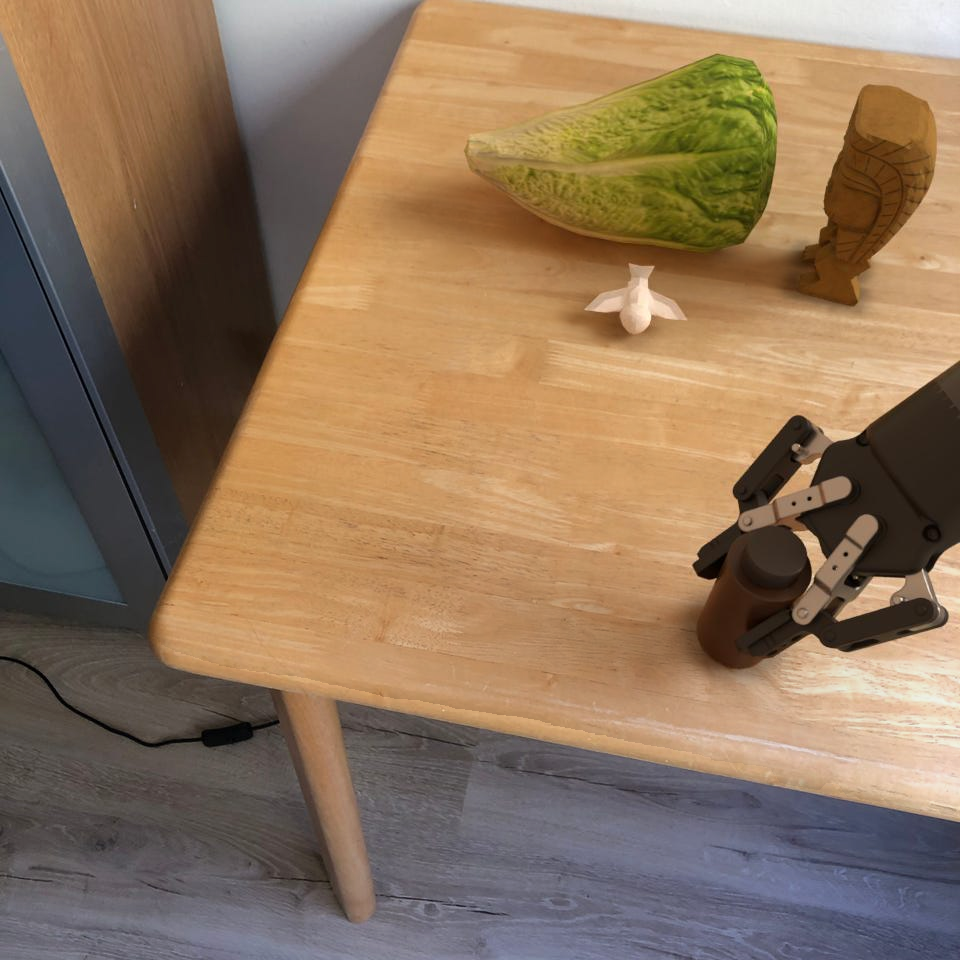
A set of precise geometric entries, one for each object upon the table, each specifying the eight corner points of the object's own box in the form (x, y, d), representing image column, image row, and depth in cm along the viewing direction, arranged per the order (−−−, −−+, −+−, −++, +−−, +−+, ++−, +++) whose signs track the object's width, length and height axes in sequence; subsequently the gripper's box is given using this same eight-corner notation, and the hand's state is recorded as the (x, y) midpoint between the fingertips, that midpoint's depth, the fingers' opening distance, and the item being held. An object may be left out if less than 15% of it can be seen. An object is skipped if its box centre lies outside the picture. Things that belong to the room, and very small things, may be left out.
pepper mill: (785, 635, 60) (837, 551, 52) (740, 683, 58) (787, 603, 50) (726, 588, 62) (768, 500, 54) (681, 633, 60) (716, 548, 52)
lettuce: (463, 282, 79) (474, 181, 89) (766, 280, 77) (743, 177, 87) (451, 115, 68) (465, 21, 78) (804, 109, 66) (772, 13, 76)
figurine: (800, 242, 81) (862, 78, 69) (879, 259, 80) (956, 96, 68) (789, 297, 77) (853, 133, 65) (872, 316, 76) (953, 154, 64)
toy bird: (580, 335, 73) (588, 277, 71) (581, 311, 77) (589, 254, 75) (686, 346, 73) (698, 287, 70) (682, 321, 77) (693, 264, 74)
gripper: (885, 308, 50) (635, 500, 57) (1066, 530, 42) (751, 719, 49) (930, 356, 55) (697, 525, 63) (1098, 560, 48) (810, 727, 55)
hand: (722, 610), depth 56 cm, fingers closed on pepper mill, 4 cm apart
